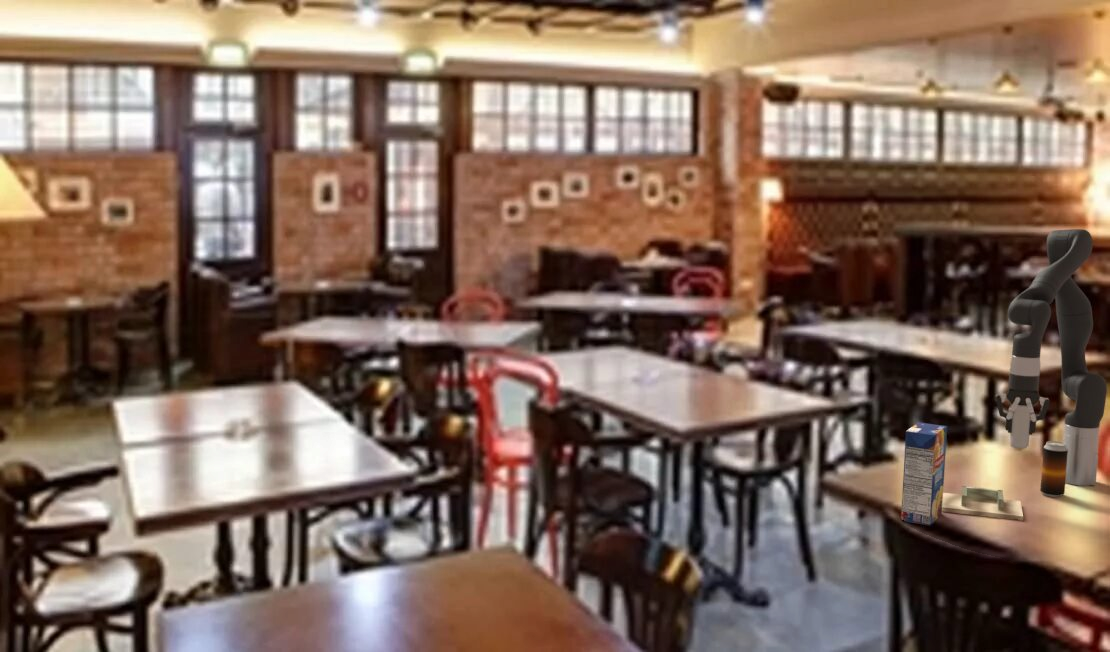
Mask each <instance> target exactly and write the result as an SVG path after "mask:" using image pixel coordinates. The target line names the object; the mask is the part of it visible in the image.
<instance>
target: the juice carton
mask: <svg viewBox="0 0 1110 652" xmlns="http://www.w3.org/2000/svg"><path fill="white" fill-rule="evenodd" d="M947 433H948V426H947V425H939V424H932V423H925V422H917V423H916V424H914V425H913V426H911V427H910V428H908V429H907V430H906V431H905V444H904V460H903V477H902V478H903V479H902V493H901V494H902V497H901V508H900V510H901V513H900V520H901V519H902V520H904V521H903V522H908V523H914V524H918V525H919V524H920V525H923V526H931V525H933V524H934V523H935V521H937V519H938V518H940V516H942V513H943V512H942V502H943V493H944V482H945V467H946V466H945V465H946V455H947V454H946V453H947V452H946V451H947V435H948V434H947ZM902 520H901V521H902Z"/></svg>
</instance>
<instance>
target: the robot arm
mask: <svg viewBox="0 0 1110 652" xmlns="http://www.w3.org/2000/svg"><path fill="white" fill-rule="evenodd" d="M1093 248H1094V247H1093V238H1092V235H1091V233H1090V231H1088V230H1086V229H1083V228H1075V229H1074V228H1072V229H1057V230H1052V231H1050V232H1049V234H1048V235H1047V237H1046V254H1047V259H1048V264H1049V266H1047V267H1046V268H1044V269H1043V270H1042V271H1040V272H1039V273H1038V274H1037V275H1036V276H1035V277H1034V279H1033V280H1032V282H1031V284H1030V285H1029V287H1028V288H1026V289H1025V290H1024V291H1022V292H1021V293H1020V294H1018V295H1016V297H1014V299H1012V301H1011V302H1010V304H1009V306H1008V309H1007V316H1008V317H1007V318H1008V319H1009V321H1011V323H1012V324H1015V325H1021V326H1030V327H1032V328H1031V331H1030V332H1027V333H1025V332H1024V333H1017V334H1015V335H1014V337H1013V341H1012V351H1011V358H1010V364H1009V376H1008V388H1007V391H1006V393H1002V394H1000V393H996V395H995V398H996V400H995V401H996V405H997V409H998V415H999V417H1001V418H1004V419H1005V427H1004V428H1005V431H1007V433H1008V434H1010V433H1011V423H1012V415H1013V413H1014V411H1015V409H1016V407H1017V405H1025V406H1029V407H1028V408H1029V413H1030V416H1031V421H1030V433H1029V436H1033V434H1035V433H1036V428H1037V427H1036V426H1037V422H1038V421H1043V420H1044V419H1045V417H1046V414H1047V410H1048V408H1049V405H1050V403H1051V401H1050V399H1049V397H1043V396H1040V394H1039V387H1040V385H1039V384H1040V378H1041V377H1040V376H1041V375H1040V374H1041V350H1042V341H1043V337H1044V335H1045V332H1046V329H1047V327H1048V324H1049V321H1050V320H1051V317H1052V309H1051V306H1050V305H1051V304H1052V303H1053V301H1054V300H1055V311H1056V320H1057V327H1058V335H1059V342H1060V343H1059V345H1060V354H1061V355H1060V356H1061V359H1060V360H1061V373H1060V374H1061V375H1060V376H1061V388H1062V392H1063V393H1064V395H1065V396H1067V398H1069V399H1071V400H1074V401H1076V402H1075V407H1074V410H1073V411H1071V412H1068V413H1066V414H1065V416H1064V424H1063V425H1064V426H1063V437H1062V438H1063V441H1062V443H1065V444H1066V447H1067V449H1068V455H1067V467H1066V480H1065V484H1069V485H1074V486H1087V487H1088V486H1095V487H1096V485H1097V473H1098V462H1099V453H1098V449H1099V448H1098V446H1099V438H1100V437H1099V436H1100V435H1099V433H1100V424H1101V421H1102V419H1103V417H1104V414H1105V407H1106V400H1107V394H1108V393H1107V392H1108V389H1107V382H1106V379H1105V378H1104V377H1103V376H1102V375H1100V373H1099V374H1098V373H1095V372H1092V371H1089V370H1088V367H1087V361H1086V348H1087V344H1088V343H1089V340H1090V338H1091V336H1092V334H1093V333H1092V332H1093V329H1094V318H1093V310H1092V304H1091V301H1090V300H1089V298H1088V297H1087V296H1086V294H1085V293H1084V292H1083V291H1082V289H1081V288H1080V287H1079V286H1078V284H1077V283H1076V282H1075V281H1074V279H1073V277H1072V275H1073V274H1074V273H1076V271H1077V270H1078V269H1079V268H1080V267H1081V266H1082V265H1083V264H1084V263H1085V262H1086V261H1087V260H1088V258H1089V257H1090V256H1091V254H1092V251H1093ZM1006 399H1007V400H1008V401H1009V403H1010V406H1009V408H1008V410H1007V412H1005V411H1004V408H1003V403H1004V402H1005V400H1006ZM1038 402H1039V403H1040V406H1041V407H1040V411H1039V412H1038V413H1039V414H1035V411H1034V406H1035V405H1036V404H1037V403H1038ZM1030 409H1031V410H1030Z"/></svg>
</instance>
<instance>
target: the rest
mask: <svg viewBox="0 0 1110 652" xmlns="http://www.w3.org/2000/svg"><path fill="white" fill-rule="evenodd" d="M943 512H945V513H953V514H961V515H969V514H970V515H971V516H978V515H980V516H979V517H986V516H989V517H988V518H995V517H998V518H997V519H1004V518H1007V519H1006V520H1013V519H1018V520H1017V521H1022V520H1023V521H1024V515H1023V507H1022V501H1021V500H1014V499H1007V498H1006V499H1004V491H1003V490H1002V489H995V488H984V487H973V486H965V485H962V486H961V494H959V493H951V492H950V493H948V492H943V501H942V513H943Z"/></svg>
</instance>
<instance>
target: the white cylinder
mask: <svg viewBox="0 0 1110 652" xmlns="http://www.w3.org/2000/svg"><path fill="white" fill-rule="evenodd" d="M1028 407H1029V406H1025V405H1017V407H1016V409H1015V411H1014V413H1013V415H1012V417H1011V419H1012V423H1011V433H1009V446H1010V447H1012V448H1015V449H1023V450H1025V449H1027V448H1029V446H1030V435H1029V433H1030V421H1031V416H1030V413H1029V408H1028ZM1030 410H1031V409H1030Z"/></svg>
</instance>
